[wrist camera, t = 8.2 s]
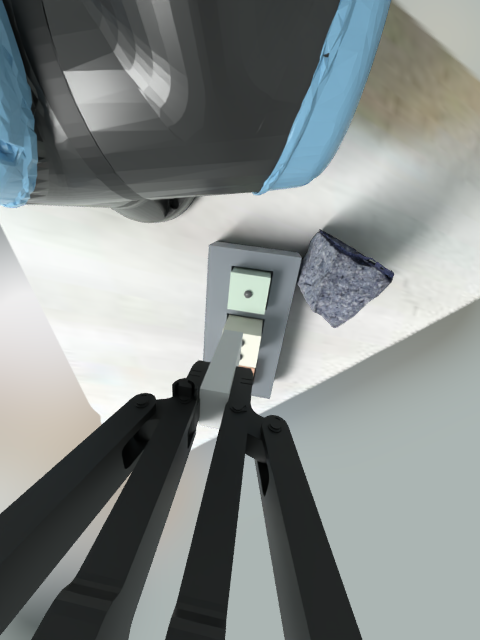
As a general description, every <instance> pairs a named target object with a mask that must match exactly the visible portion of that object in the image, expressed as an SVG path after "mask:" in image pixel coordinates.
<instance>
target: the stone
mask: <svg viewBox="0 0 480 640" xmlns="http://www.w3.org/2000/svg"><path fill="white" fill-rule="evenodd" d="M369 259H373V258H369V257H366V256H364V255H362V254H361V253H359V252H356V250H355V249H353V248H351V247H350V246H348V245H346V244H345V243H343V242H342V241H340V240H338V239H337V238H334V237H333V236H331V235H330V234H327V233H326V232H324V231H322V230H321V229H320V231H319V232H317V234H316V235H315V236H314V237H313V239H312V240H311V241H310V247H309V249H308V251H307V253H306V255H305V257H304V259H303V260H302V262H301V264H300V268H299V272H298V277H297V281H296V284H298V286H299V287H300V290H301V292H302V293H303V295H304V298H305V300H306V302H307V303H308V304H309V306H310V308H311V310H312V311H313V312H315V313H318V314H319V315H321V316H322V317H323V318H324V319H325V320H326V321H327V322H328V323H329V324H330V325H331V326H332V327H333V328H336V327H338V326H340V325H342V324H343V323H345V322H346V321H347V320H349V319H351V318H352V317H354V316H355V315H356V314H357V313H358V312H359V311H360V310H361V309H362V308H363V307H364V306H365V305H366V304H367V303H368V302H369V301H371V300H372V299H374V298H375V297H377V296H378V295H379V294H380V293H381V292H382V291H383V290H384V289H385V288H386V287H387V286H388V285H389V284H390V283H391V282H392V280H393V276H394V273H393V272H392V270H391V271H390V270H388V269H386V268H385V267H383V266H382V265H381V264H380V263H378V262H376V261H375V260H374V259H373V261H374V262H376V263H373V262H372V261H369ZM382 267H383V268H382Z"/></svg>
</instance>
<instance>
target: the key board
mask: <svg viewBox="0 0 480 640" xmlns="http://www.w3.org/2000/svg"><path fill="white" fill-rule="evenodd" d="M301 259H302V257H301V256H300V254H299V253H298V252H292V251H284V250H277V249H270V248H262V247H255V246H247V245H240V244H233V243H225V242H218V241H216V242H214V243H212V244H210V245H209V254H208V274H207V294H206V314H205V333H204V353H203V361H206V362H211V360H212V358H213V355H214V353H215V350H216V348H217V346H218V343H219V341H220V338H221V336H222V332H223V328H224V326H225V323H226V321H227V319H228V316H229V315H235V316H241V317H248V318H254V319H261V320H263V322H262V334H261V341H260V346H259V352H258V358H257V363H256V368H255V371H254V376H253V384H252V393H251V396H257V397H262V398H268V399H270V395H271V391H272V386H273V382H274V378H275V373H276V369H277V365H278V360H279V356H280V351H281V347H282V343H283V338H284V334H285V329H286V325H287V321H288V316H289V312H290V308H291V303H292V299H293V294H294V290H295V286H296V281H297V277H298V272H299V268H300V264H301ZM235 266H238V267H245V268H252V269H259V270H266V271H271V280H270V285H269V291H268V297H267V302H266V308H265V314H264V315H263V314H257V313H250V312H244V311H237V310H231V309H227V306H228V296H229V286H230V275H231V271H232V270H233V268H234V267H235Z"/></svg>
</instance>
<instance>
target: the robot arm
mask: <svg viewBox="0 0 480 640" xmlns="http://www.w3.org/2000/svg"><path fill="white" fill-rule="evenodd" d="M390 2H391V0H0V205H2V206H4V207H9V208H17V207H20V206H24V205H25V204H27V205H54V206H80V207H105V208H111V209H113V210H115V211H116V212H118V213H120V214H121V215H123V216H125V217H127V218H129V219H132V220H135V221H139V222H144V223H157V222H165V221H169V220H171V219H174V218H176V217H177V216H179V215H180V214H182V213H183V212H184V211H185V210H186V209H187V208H188V207H189V205H190V204H191V203H192V201H193V200H194V198H195V196H208V195H222V194H235V193H248V192H252V193H253V194H254V195H261V194H263V193H266V192H267V191H271V190H279V189H287V188H295V187H301V186H303V185H306V184H308V183H309V182H310V181H312V180H313V179H314V178H316V177H318V176H319V175H320V174H321V173H322V172H323V171H324V170H325V168H326V167H327V166H328V165H329V163H330V162H331V160H332V159H333V157H334V155H335V154H336V152H337V150H338V148H339V146H340V145H341V143H342V141H343V138H344V136H345V134H346V132H347V130H348V128H349V126H350V123H351V121H352V118H353V116H354V114H355V111H356V109H357V106H358V103H359V101H360V98H361V95H362V93H363V90H364V87H365V84H366V82H367V79H368V76H369V73H370V70H371V67H372V64H373V60H374V57H375V54H376V51H377V48H378V45H379V42H380V38H381V35H382V31H383V28H384V25H385V21H386V17H387V14H388V10H389V6H390ZM242 338H243V332H237V331H231V330H224V331H223V333H222V336H221V338H220V341H219V343H218V346H217V348H216V350H215V353H214V355H213V358H212V360H211V362H206V361H200V360H199V361H197V362H196V363H195V364H193V366H192V368H191V371H190V372H189V374H188V376H187V378H183V379H179V380H177V381H175V382H174V383H173V384H172V392H173V397H171V398H168V399H159V400H156V398H155V396H153V395H152V394H149V393H141V394H138V395H136V396H134V397H133V398H132V399H130V400H129V401H128V402H127V403H126V404H125V405H124V406H122V407H121V408H120V409H119V410H118V411H117V412H116V413H115V414H113V415H112V416H111V417H110V418H109V419H108V420H107V421H105V422H104V423H103V424H102V425H101V426H100V427H99V428H97V429H96V430H95V431H94V432H93V433H92V434H91V435H90V436H88V437H87V438H86V439H85V440H84V441H83V442H82V443H80V444H79V445H78V446H77V447H76V448H75V449H74V450H72V451H71V452H70V453H69V454H68V455H67V456H66V457H64V458H63V460H61V461H60V462H59V463H58V464H57V465H55V466H54V467H53V468H52V469H51V470H50V471H49V472H47V473H46V474H45V475H44V476H43V477H42V478H41V479H39V480H38V481H37V482H36V483H35V484H34V485H33V486H32V487H30V488H29V489H28V490H27V491H26V492H25V493H24V494H23V495H21V496H20V497H19V498H18V499H17V500H16V501H14V502H13V503H12V504H11V505H10V506H9V507H8V508H7V509H6V510H4V511H3V512H2V513H1V514H0V635H1V634H2V632H3V631H4V630H5V629H6V628H7V626H8V625H9V624H10V623H11V621H12V620H13V619H14V618H15V616H16V615H17V614H18V613H19V611H20V610H21V609H22V608H23V606H24V605H25V604H26V603H27V601H28V600H29V599H30V598H31V596H32V595H33V594H34V593H35V591H36V590H37V589H38V588H39V586H40V585H41V584H42V583H43V581H44V580H45V579H46V577H48V575H49V574H50V573H51V572H52V570H53V569H54V568H55V567H56V565H57V564H58V563H59V561H60V560H61V559H62V558H63V557H64V555H65V554H66V553H67V552H68V550H69V549H70V548H71V547H72V545H73V544H74V543H75V542H76V540H77V539H78V538H79V537H80V535H81V534H82V533H83V532H84V530H85V529H86V528H87V527H88V525H89V524H90V523H91V521H92V520H93V519H94V518H95V517H96V516H97V514H98V513H99V512H100V511H101V509H102V508H103V507H104V506H105V504H106V503H107V502H108V501H109V499H110V498H111V497H112V496H113V494H114V493H115V492H116V491H117V489H118V488H119V487H120V486H121V484H122V483H123V482H124V481H125V480H126V478H127V477H128V476H129V475H130V473H131V472H132V473H131V475H130V477H129V479H128V481H127V483H126V484H125V486H124V488H123V490H122V492H121V494H120V496H119V497H118V500H117V501H116V503H115V505H114V507H113V509H112V510H111V512H110V514H109V516H108V518H107V520H106V522H105V523H104V525H103V527H102V529H101V531H100V533H99V535H98V537H97V538H96V541H95V542H94V544H93V546H92V548H91V550H90V552H89V553H88V555H87V557H86V559H85V561H84V563H83V564H82V566H81V568H80V570H79V572H78V574H77V575H76V577H75V578H74V580H73V581H72V582H71V583H70V584H69V585H67V586H66V587H65V588H64V589H63V590H62V591H61V592H60V593H59V594H58V596H57V597H56V599H55V600H54V601H53V603H52V605H51V606H50V608H49V610H48V611H47V613H46V614H45V616H44V618H43V620H42V622H41V623H40V625H39V627H38V629H37V631H36V632H35V634H34V636H33V638H32V639H31V640H128V638H129V633H130V627H131V624H132V620H133V617H134V614H135V611H136V608H137V605H138V602H139V599H140V596H141V593H142V590H143V587H144V584H145V581H146V579H147V575H148V573H149V570H150V567H151V564H152V561H153V558H154V555H155V552H156V549H157V546H158V543H159V540H160V537H161V534H162V531H163V528H164V526H165V523H166V520H167V517H168V514H169V511H170V508H171V505H172V502H173V499H174V496H175V493H176V490H177V487H178V485H179V482H180V479H181V476H182V473H183V470H184V467H185V464H186V461H187V458H188V455H189V452H190V449H191V446H192V444H193V441H194V438H195V435H196V426H197V423H198V421H199V424H198V425H199V426H204V427H210V428H215V429H219V433H218V437H217V441H216V445H215V449H214V453H213V457H212V461H211V465H210V469H209V474H208V478H207V482H206V486H205V490H204V494H203V498H202V502H201V507H200V510H199V514H198V518H197V522H196V526H195V530H194V535H193V539H192V543H191V547H190V551H189V555H188V559H187V563H186V567H185V571H184V575H183V579H182V584H181V587H180V592H179V596H178V599H177V603H176V606H175V609H174V612H173V615H172V618H171V621H170V624H169V627H168V631H167V635H166V639H165V640H225V632H226V631H225V630H226V617H227V608H228V598H229V590H230V581H231V572H232V563H233V555H234V546H235V537H236V528H237V520H238V511H239V502H240V494H241V493H240V492H241V485H242V476H243V467H244V458H245V454H247V455H248V456H250V457H252V458H254V459H255V464H256V470H257V477H258V482H259V488H260V494H261V500H262V506H263V512H264V518H265V524H266V529H267V536H268V542H269V548H270V554H271V560H272V565H273V572H274V577H275V584H276V589H277V595H278V601H279V607H280V613H281V619H282V624H283V631H284V637H285V640H362V637H361V634H360V631H359V628H358V626H357V623H356V620H355V617H354V614H353V611H352V608H351V606H350V603H349V600H348V597H347V594H346V591H345V588H344V585H343V582H342V580H341V577H340V574H339V571H338V568H337V565H336V562H335V559H334V557H333V554H332V551H331V548H330V545H329V542H328V540H327V536H326V533H325V531H324V528H323V525H322V522H321V519H320V516H319V514H318V511H317V507H316V505H315V502H314V499H313V496H312V493H311V490H310V487H309V484H308V482H307V479H306V476H305V473H304V470H303V467H302V464H301V461H300V458H299V456H298V453H297V450H296V447H295V444H294V441H293V438H292V435H291V433H290V430H289V427H288V425H287V423H286V421H285V420H283V419H282V418H281V417H279V416H275V415H270V416H267V417H265V418H264V417H262V416H260V415H258V414H256V413H255V412H254V411H253V409H252V408H251V404H250V402H251V393H252V384H253V375H254V374H253V372H252V369H251V368H245V367H239V361H240V354H241V346H242Z"/></svg>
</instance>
